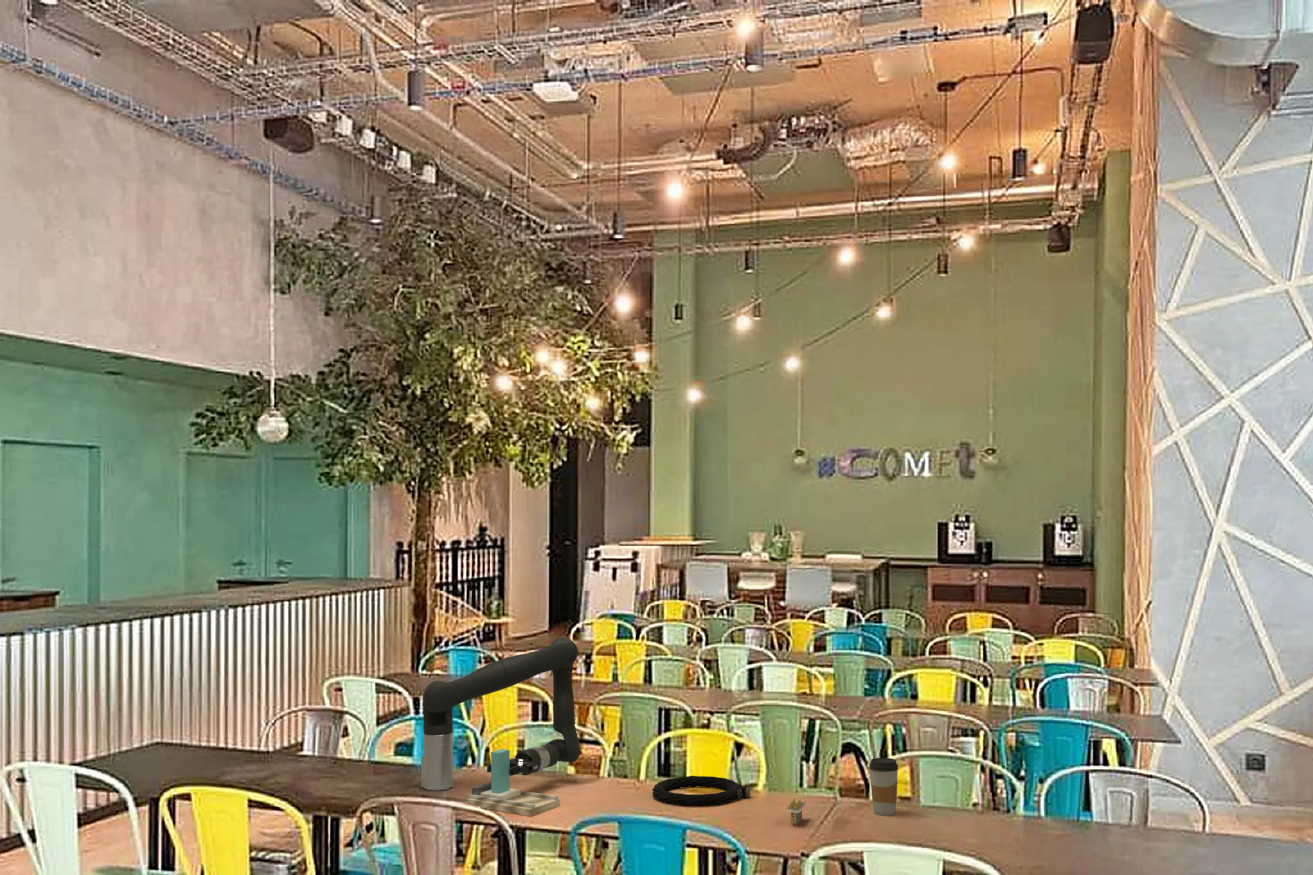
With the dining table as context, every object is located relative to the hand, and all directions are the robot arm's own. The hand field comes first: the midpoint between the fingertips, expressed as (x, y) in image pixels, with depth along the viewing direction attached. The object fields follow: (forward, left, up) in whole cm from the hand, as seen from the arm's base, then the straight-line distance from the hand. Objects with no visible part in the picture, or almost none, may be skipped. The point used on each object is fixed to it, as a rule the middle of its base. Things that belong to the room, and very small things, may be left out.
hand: (498, 770), depth 370 cm
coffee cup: (+104, +48, -10) cm, 114 cm away
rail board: (+5, +1, -10) cm, 11 cm away
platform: (+86, +26, -11) cm, 90 cm away
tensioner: (0, +1, -8) cm, 8 cm away
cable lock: (+48, +39, -11) cm, 62 cm away
